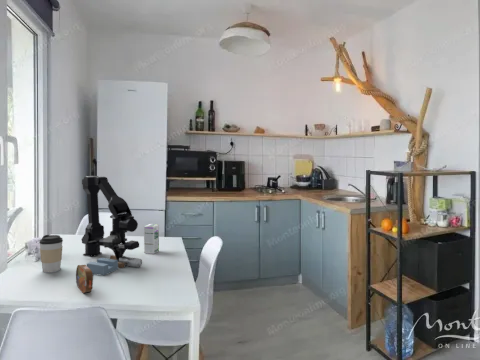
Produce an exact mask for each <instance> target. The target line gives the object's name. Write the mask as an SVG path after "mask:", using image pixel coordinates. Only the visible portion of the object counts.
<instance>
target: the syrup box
mask: <svg viewBox="0 0 480 360" xmlns="http://www.w3.org/2000/svg"><path fill="white" fill-rule="evenodd" d="M159 226H160V225H159V224H158V223H157V224H156V223H149V224H147V225H144V226H143V246H144V247H143V249H144V250H143V253H144V254H148V255H155V254H157V253H158V252H159V251H160V232H159V231H160V227H159Z"/></svg>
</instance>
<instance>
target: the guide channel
mask: <svg viewBox="0 0 480 360" xmlns="http://www.w3.org/2000/svg"><path fill="white" fill-rule="evenodd" d="M109 259H113V260H117V259H116V256H115V254H112V255H110V257H109ZM124 268H125V265H124V263H121V262H118V269H124Z"/></svg>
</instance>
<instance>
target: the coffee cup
mask: <svg viewBox="0 0 480 360" xmlns="http://www.w3.org/2000/svg"><path fill="white" fill-rule="evenodd" d="M63 242H64V239H63V237H61V236H60V235H57V234H51V235H50V234H44V235H43V236H42V238H41V239H39V243H38V244H39V252H40V261H41V269H42V272H43V273H55V272H59V271H60V270H61V267H62V264H61V263H62V255H63Z"/></svg>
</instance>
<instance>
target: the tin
mask: <svg viewBox="0 0 480 360" xmlns="http://www.w3.org/2000/svg"><path fill="white" fill-rule="evenodd" d="M75 280H76V281H75V282H76V286H77V288H78V289H79V290H80V291H81V292H82V293H83V294H85V293H91V292H92V290H93V288H94V287H93V285H94V274H93V273H92V271H91V269H90V268H88V267H87V264H78V265H77V267H76V271H75Z"/></svg>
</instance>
